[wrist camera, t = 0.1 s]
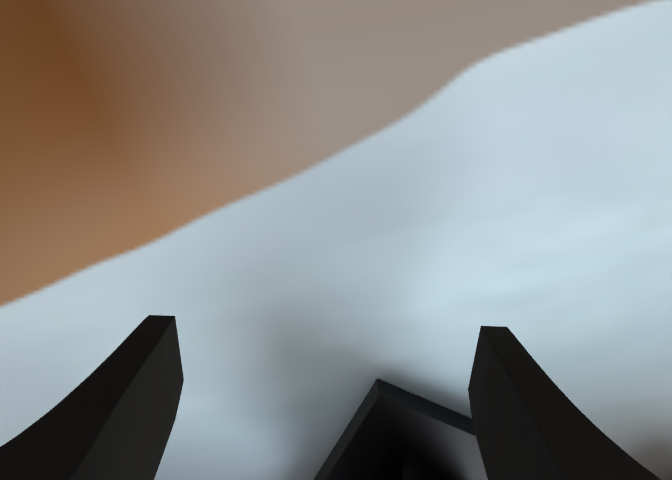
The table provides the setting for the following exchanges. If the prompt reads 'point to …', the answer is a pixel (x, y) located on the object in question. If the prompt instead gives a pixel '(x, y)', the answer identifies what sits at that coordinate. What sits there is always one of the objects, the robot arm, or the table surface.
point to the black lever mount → (404, 441)
